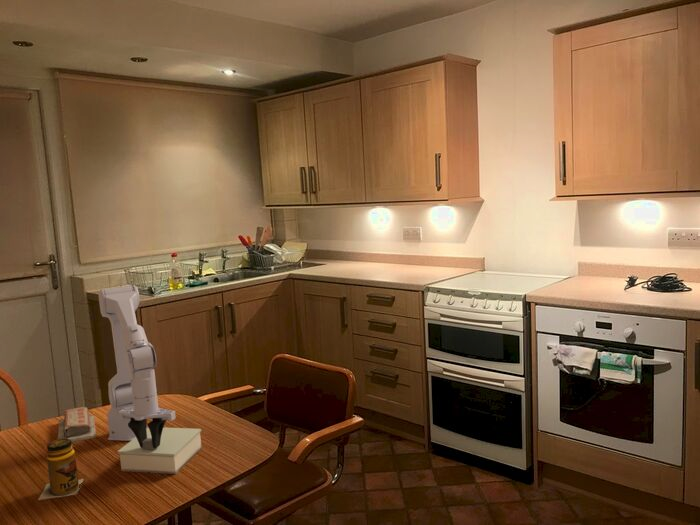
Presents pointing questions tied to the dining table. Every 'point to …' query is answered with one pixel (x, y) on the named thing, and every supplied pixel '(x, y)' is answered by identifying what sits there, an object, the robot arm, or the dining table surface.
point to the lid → (162, 442)
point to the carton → (160, 460)
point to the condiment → (61, 470)
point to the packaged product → (77, 425)
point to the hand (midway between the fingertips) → (150, 446)
